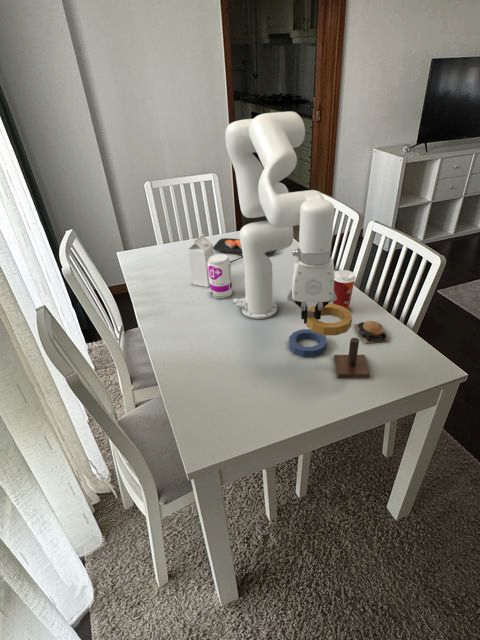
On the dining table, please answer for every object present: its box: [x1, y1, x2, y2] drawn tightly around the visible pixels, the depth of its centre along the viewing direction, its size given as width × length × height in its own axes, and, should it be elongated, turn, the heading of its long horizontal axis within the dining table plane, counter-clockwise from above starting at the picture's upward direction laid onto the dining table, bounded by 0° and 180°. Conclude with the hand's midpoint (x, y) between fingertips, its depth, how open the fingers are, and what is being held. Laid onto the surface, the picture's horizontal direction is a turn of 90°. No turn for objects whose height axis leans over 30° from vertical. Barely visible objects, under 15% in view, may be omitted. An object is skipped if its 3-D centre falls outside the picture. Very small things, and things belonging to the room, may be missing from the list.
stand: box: [333, 337, 371, 379], centre depth 116 cm, size 9×9×10 cm
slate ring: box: [288, 328, 328, 358], centre depth 128 cm, size 12×12×2 cm
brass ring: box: [305, 303, 353, 336], centre depth 107 cm, size 12×12×2 cm
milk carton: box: [187, 233, 215, 288], centre depth 160 cm, size 7×7×19 cm
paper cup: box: [332, 269, 356, 311], centre depth 142 cm, size 8×8×14 cm
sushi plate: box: [213, 237, 276, 264], centre depth 185 cm, size 29×30×4 cm
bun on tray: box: [355, 320, 389, 344], centre depth 132 cm, size 11×8×4 cm
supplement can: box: [207, 253, 233, 299], centre depth 153 cm, size 8×8×15 cm
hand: (310, 320), depth 107 cm, fingers closed on brass ring, 2 cm apart
